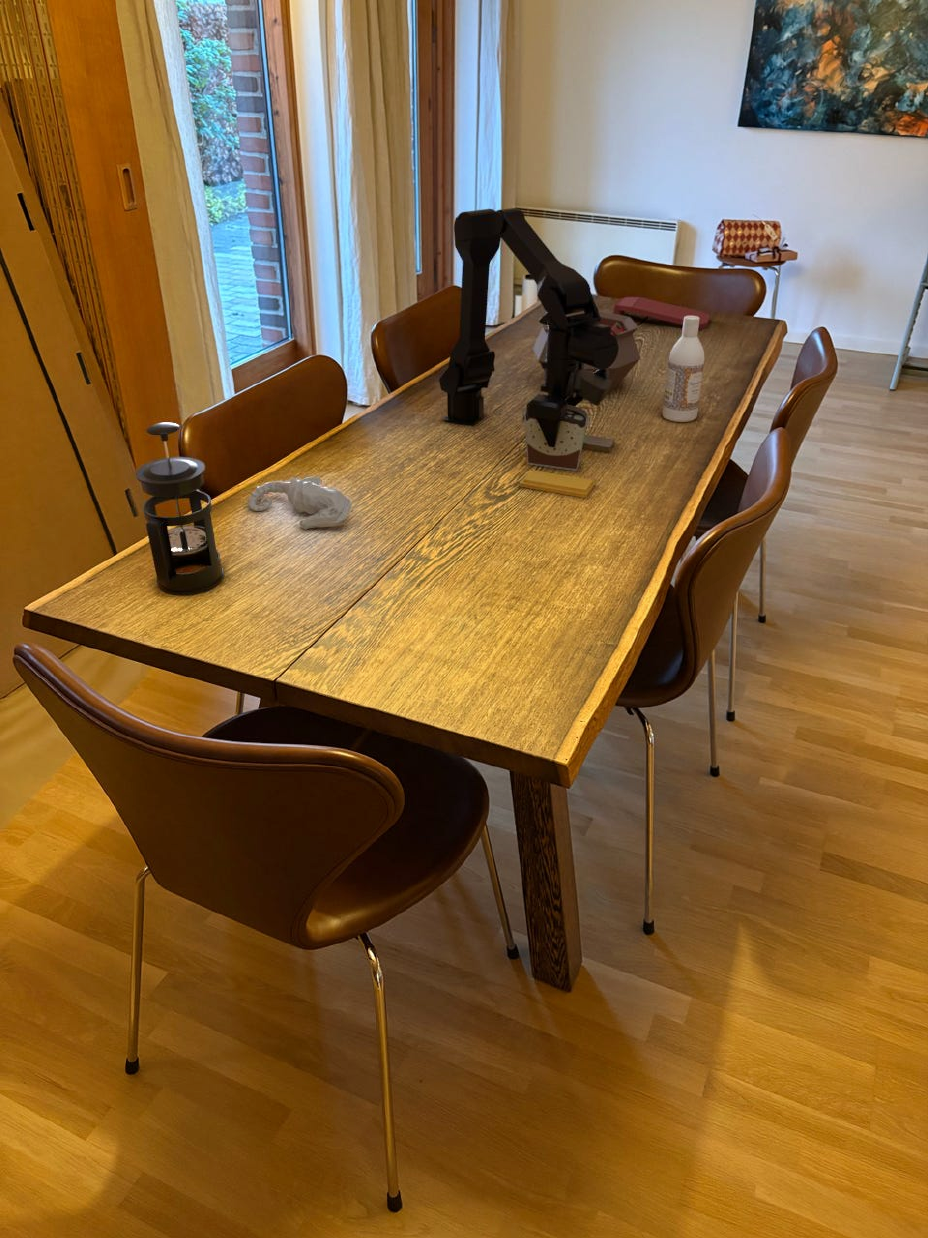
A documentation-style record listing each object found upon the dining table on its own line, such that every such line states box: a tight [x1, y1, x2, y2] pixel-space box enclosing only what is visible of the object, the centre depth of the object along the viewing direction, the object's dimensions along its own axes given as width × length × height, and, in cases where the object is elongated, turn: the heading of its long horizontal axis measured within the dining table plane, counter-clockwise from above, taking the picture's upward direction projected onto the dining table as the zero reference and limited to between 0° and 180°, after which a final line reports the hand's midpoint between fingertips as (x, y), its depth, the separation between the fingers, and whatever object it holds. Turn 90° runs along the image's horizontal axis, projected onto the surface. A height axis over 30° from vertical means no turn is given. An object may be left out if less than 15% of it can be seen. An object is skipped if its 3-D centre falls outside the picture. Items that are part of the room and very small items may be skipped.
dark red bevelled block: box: [612, 296, 711, 330], centre depth 250 cm, size 12×5×25 cm
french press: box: [135, 422, 225, 596], centre depth 125 cm, size 12×9×23 cm
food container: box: [520, 405, 591, 472], centre depth 165 cm, size 12×6×10 cm, turn 71°
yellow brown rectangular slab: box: [518, 469, 595, 499], centre depth 158 cm, size 12×5×1 cm, turn 67°
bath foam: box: [661, 316, 705, 423], centre depth 182 cm, size 7×7×20 cm
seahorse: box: [247, 476, 353, 531], centre depth 148 cm, size 5×12×20 cm
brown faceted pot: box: [532, 310, 642, 392], centre depth 200 cm, size 24×24×16 cm
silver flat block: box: [582, 434, 616, 453], centre depth 174 cm, size 8×4×1 cm, turn 66°
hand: (557, 440), depth 165 cm, fingers closed on food container, 6 cm apart
